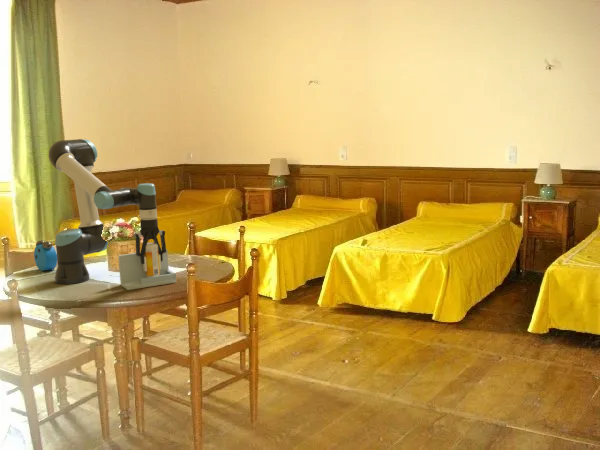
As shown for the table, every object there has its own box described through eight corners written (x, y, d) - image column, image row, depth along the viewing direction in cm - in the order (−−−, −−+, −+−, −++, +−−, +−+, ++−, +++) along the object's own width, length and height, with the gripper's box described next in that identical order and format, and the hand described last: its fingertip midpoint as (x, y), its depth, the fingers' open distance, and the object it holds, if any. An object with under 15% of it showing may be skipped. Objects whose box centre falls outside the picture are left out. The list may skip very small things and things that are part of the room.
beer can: (154, 274, 302) (152, 241, 299) (163, 275, 298) (160, 243, 295) (143, 277, 297) (141, 244, 295) (152, 278, 293) (149, 245, 291)
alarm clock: (58, 270, 330) (55, 241, 328) (46, 273, 326) (43, 243, 323) (46, 267, 339) (43, 238, 336) (34, 269, 334) (31, 240, 332)
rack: (127, 290, 286) (125, 259, 284) (120, 285, 296) (118, 255, 293) (176, 282, 297) (174, 252, 295) (168, 277, 306) (166, 249, 304)
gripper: (129, 221, 285) (134, 274, 289) (171, 217, 295) (175, 268, 298) (125, 219, 292) (129, 271, 295) (166, 215, 301) (170, 265, 305)
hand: (152, 269), depth 297 cm, fingers closed on beer can, 6 cm apart
